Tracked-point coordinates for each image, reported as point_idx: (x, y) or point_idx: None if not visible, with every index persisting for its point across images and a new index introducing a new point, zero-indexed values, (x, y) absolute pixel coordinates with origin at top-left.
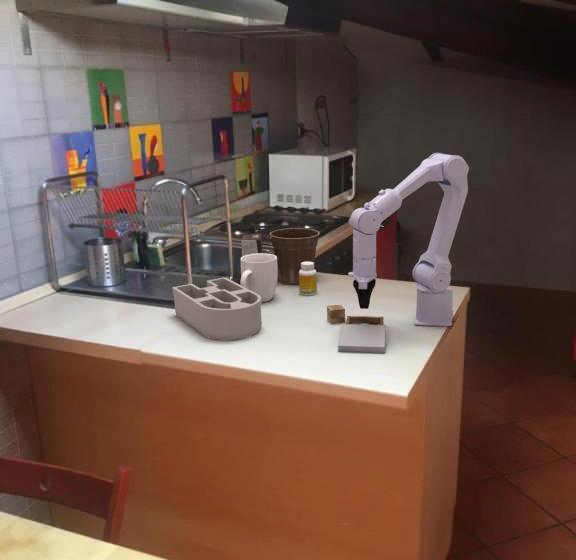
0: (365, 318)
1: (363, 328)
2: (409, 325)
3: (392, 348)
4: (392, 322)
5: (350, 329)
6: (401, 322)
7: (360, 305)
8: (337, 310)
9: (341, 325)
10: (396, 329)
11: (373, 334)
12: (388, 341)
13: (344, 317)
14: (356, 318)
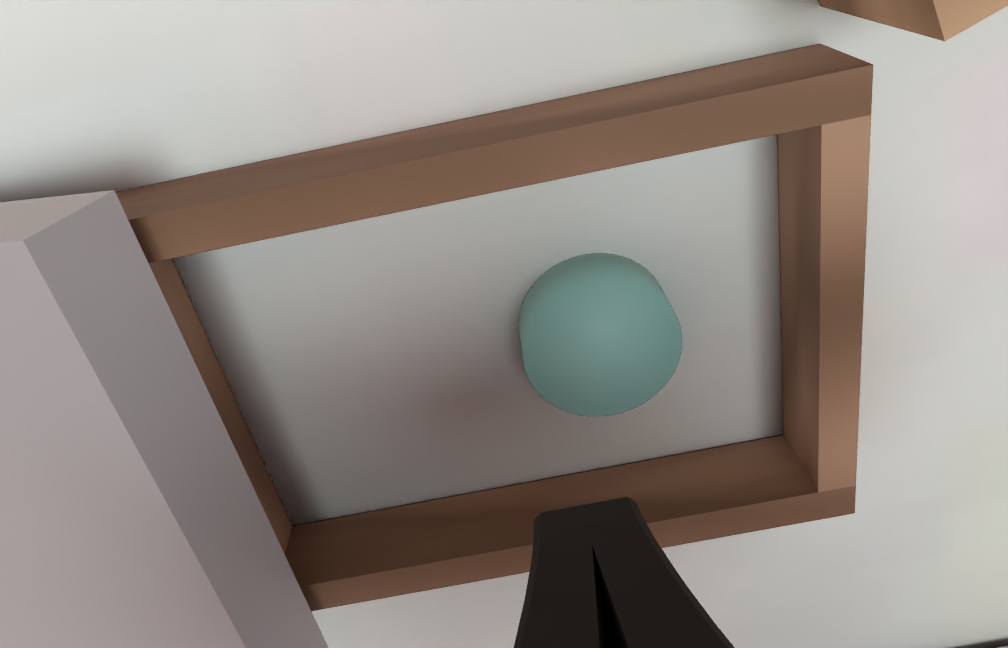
0: (811, 327)
1: (126, 535)
2: (797, 641)
3: None
4: (870, 514)
5: (14, 391)
6: (874, 577)
7: (536, 564)
8: None
9: (3, 256)
10: None
11: (94, 619)
12: None
13: (856, 8)
14: (809, 211)
